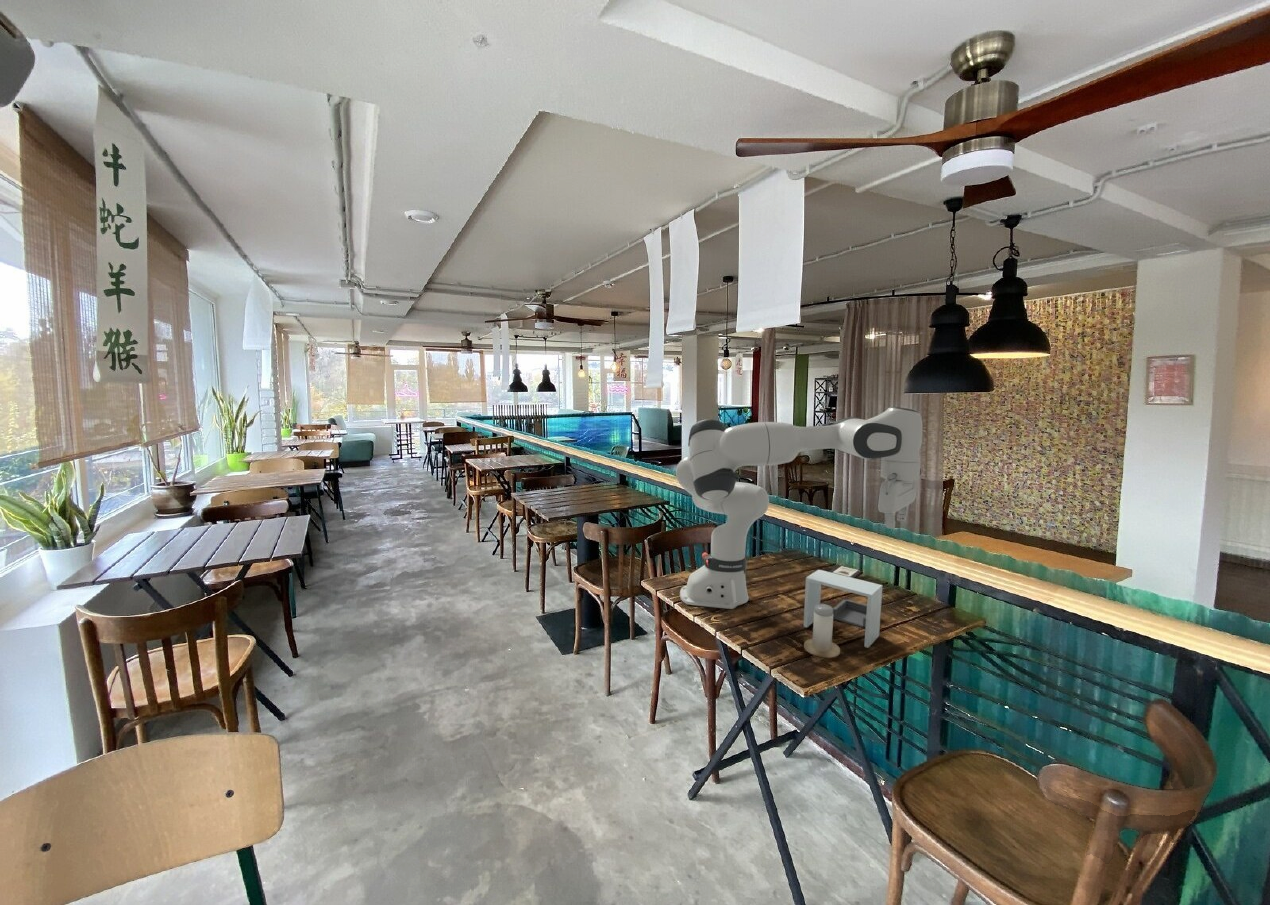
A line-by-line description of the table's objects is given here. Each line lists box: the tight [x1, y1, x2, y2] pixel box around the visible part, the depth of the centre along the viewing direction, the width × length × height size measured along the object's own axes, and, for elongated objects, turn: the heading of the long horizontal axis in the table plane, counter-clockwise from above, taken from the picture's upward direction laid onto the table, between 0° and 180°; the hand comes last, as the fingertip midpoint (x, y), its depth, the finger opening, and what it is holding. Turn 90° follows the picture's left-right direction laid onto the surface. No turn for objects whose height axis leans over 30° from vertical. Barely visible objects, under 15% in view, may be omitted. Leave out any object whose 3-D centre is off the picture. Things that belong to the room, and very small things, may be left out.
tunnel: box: [803, 569, 883, 648], centre depth 144 cm, size 9×18×15 cm, turn 48°
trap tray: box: [832, 598, 867, 629], centre depth 153 cm, size 10×10×3 cm
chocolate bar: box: [828, 565, 863, 579], centre depth 188 cm, size 9×1×18 cm
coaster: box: [803, 638, 841, 659], centre depth 135 cm, size 9×9×1 cm
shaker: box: [812, 603, 834, 652], centre depth 134 cm, size 5×5×11 cm
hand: (895, 524), depth 131 cm, fingers open, 8 cm apart
